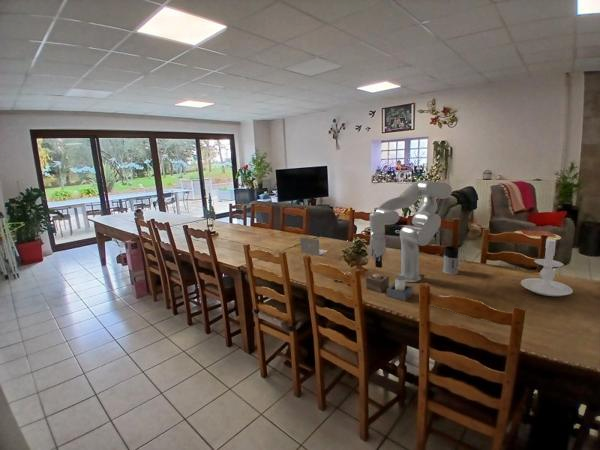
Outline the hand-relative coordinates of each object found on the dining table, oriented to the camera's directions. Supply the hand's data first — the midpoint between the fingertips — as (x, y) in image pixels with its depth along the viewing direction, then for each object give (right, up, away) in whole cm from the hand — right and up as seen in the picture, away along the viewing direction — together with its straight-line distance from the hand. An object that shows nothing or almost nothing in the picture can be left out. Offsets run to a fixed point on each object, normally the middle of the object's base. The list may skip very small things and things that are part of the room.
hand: (378, 266), depth 172 cm
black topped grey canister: (+49, -6, +16) cm, 52 cm away
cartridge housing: (+9, -14, -9) cm, 18 cm away
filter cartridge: (+9, -14, -9) cm, 18 cm away
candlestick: (+82, -10, -13) cm, 84 cm away
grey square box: (0, -12, +2) cm, 12 cm away
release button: (0, -11, +2) cm, 11 cm away
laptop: (-32, +2, +74) cm, 80 cm away
